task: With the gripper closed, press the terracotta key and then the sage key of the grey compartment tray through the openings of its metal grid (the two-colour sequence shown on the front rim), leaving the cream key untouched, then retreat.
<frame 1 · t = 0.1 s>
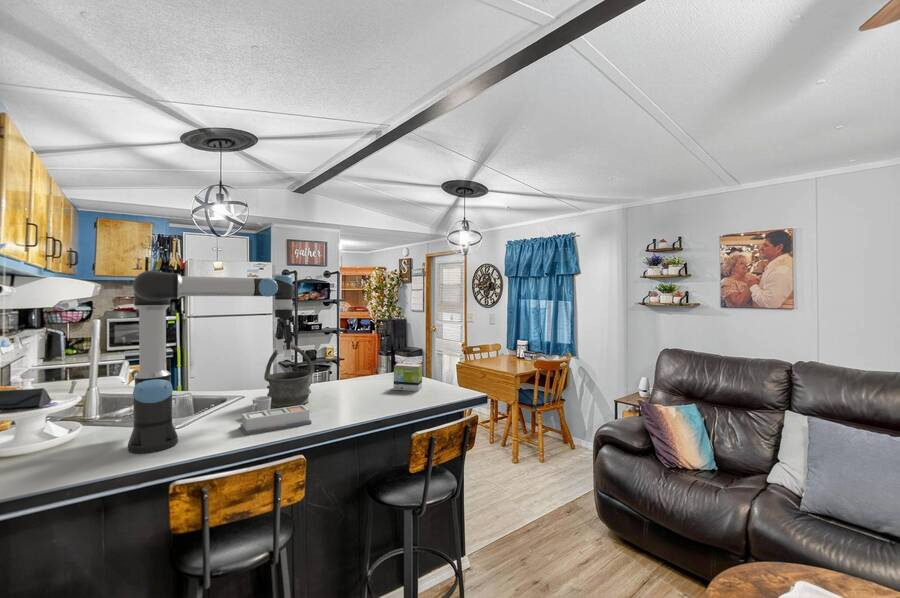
hand: (283, 355, 195), 28 cm above the countertop, fingers open, 13 cm apart
dark handled basket: (289, 403, 217), on the countertop
key sage: (276, 414, 181), point 5 cm above the countertop, slide at 0.0 cm
cup: (260, 416, 194), on the countertop
grey compartment tray: (276, 425, 181), on the countertop
tea box: (408, 389, 250), on the countertop
key terracotta: (295, 411, 186), point 5 cm above the countertop, slide at 0.0 cm
key cream: (256, 417, 176), point 5 cm above the countertop, slide at 0.0 cm
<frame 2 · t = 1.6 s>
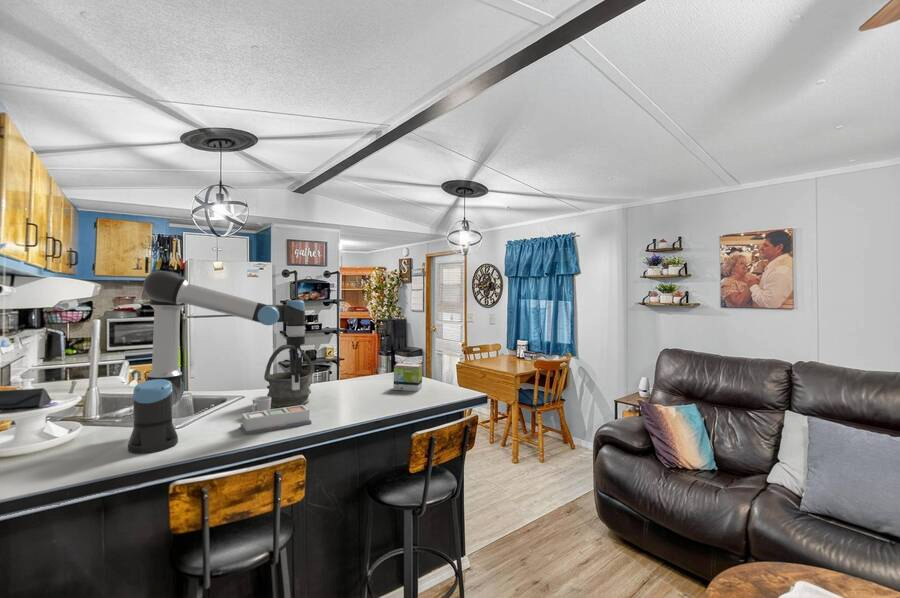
hand: (295, 389, 185), 14 cm above the countertop, fingers closed
nothing on the countertop moved.
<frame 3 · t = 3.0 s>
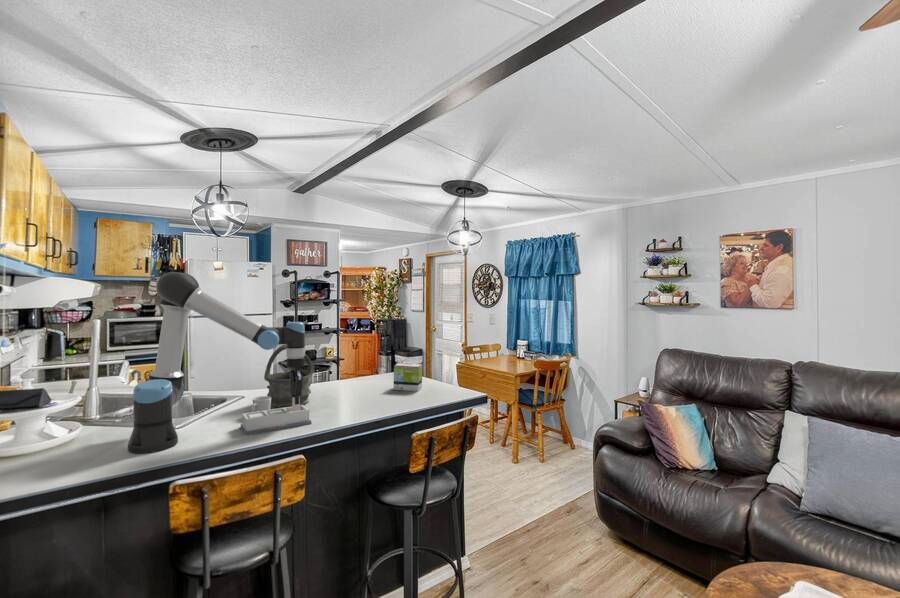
hand: (296, 411, 186), 5 cm above the countertop, fingers closed
key terracotta: (295, 414, 186), point 4 cm above the countertop, slide at 1.0 cm, touching gripper
everything else where it was.
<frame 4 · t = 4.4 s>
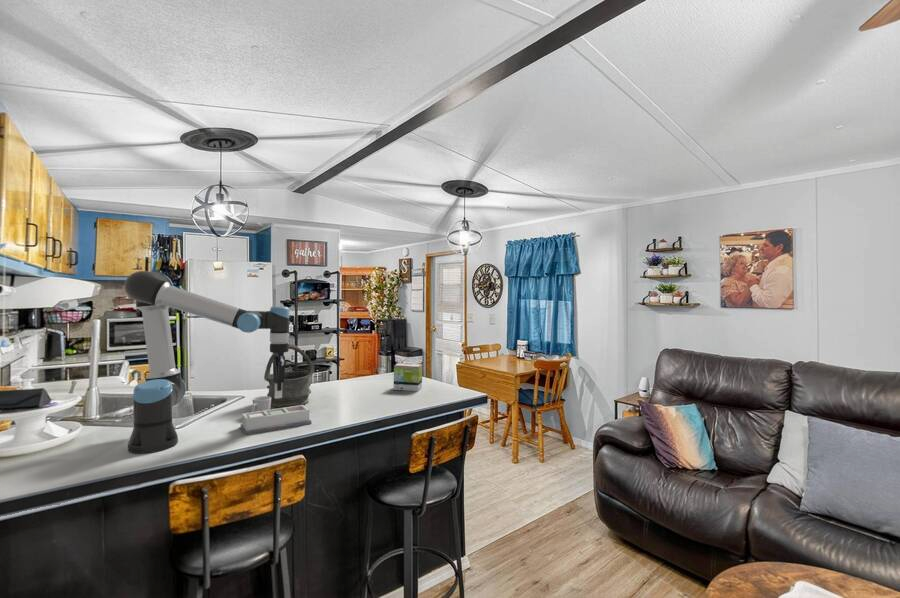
hand: (278, 397, 182), 12 cm above the countertop, fingers closed
key terracotta: (295, 414, 186), point 3 cm above the countertop, slide at 1.1 cm
everything else where it was.
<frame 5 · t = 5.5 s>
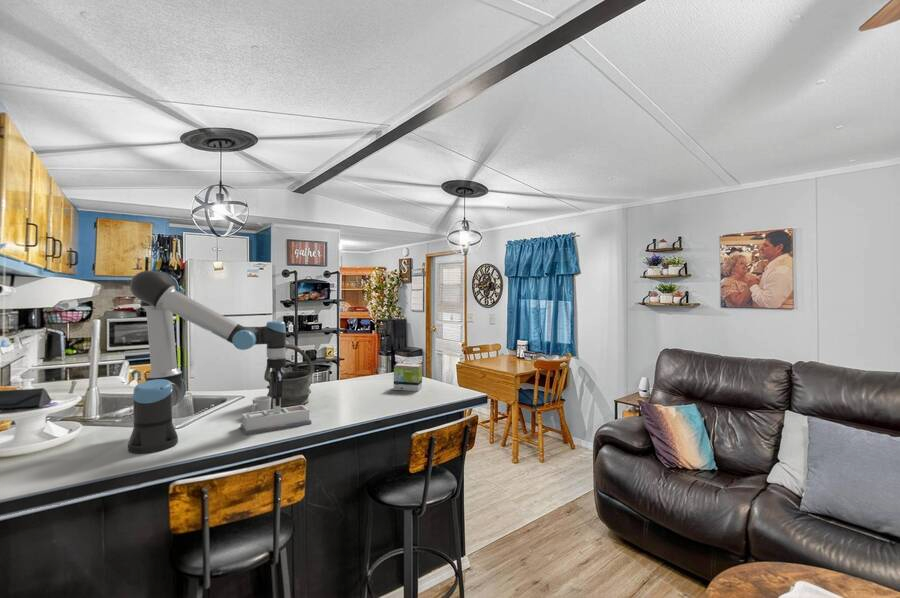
hand: (276, 412, 181), 5 cm above the countertop, fingers closed
key sage: (276, 415, 181), point 4 cm above the countertop, slide at 0.5 cm, touching gripper
everything else where it was.
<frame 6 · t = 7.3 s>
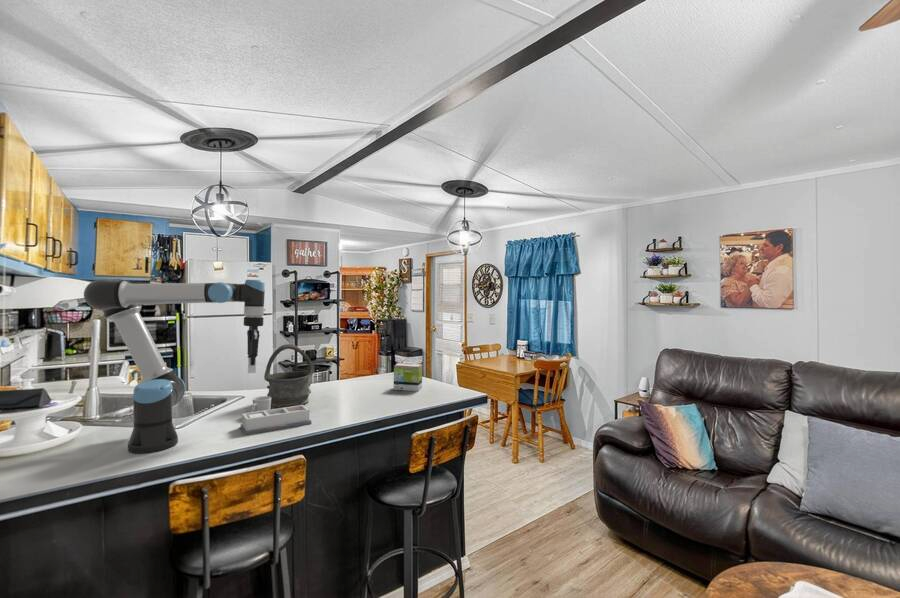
hand: (251, 372, 178), 23 cm above the countertop, fingers closed
key sage: (276, 417, 181), point 3 cm above the countertop, slide at 1.2 cm
everything else where it was.
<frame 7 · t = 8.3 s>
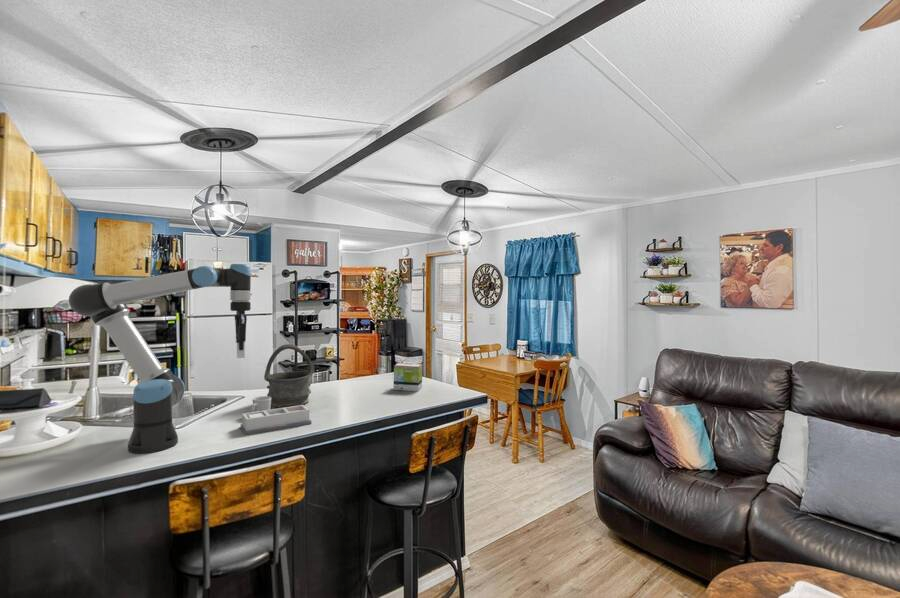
hand: (240, 357, 177), 29 cm above the countertop, fingers closed
nothing on the countertop moved.
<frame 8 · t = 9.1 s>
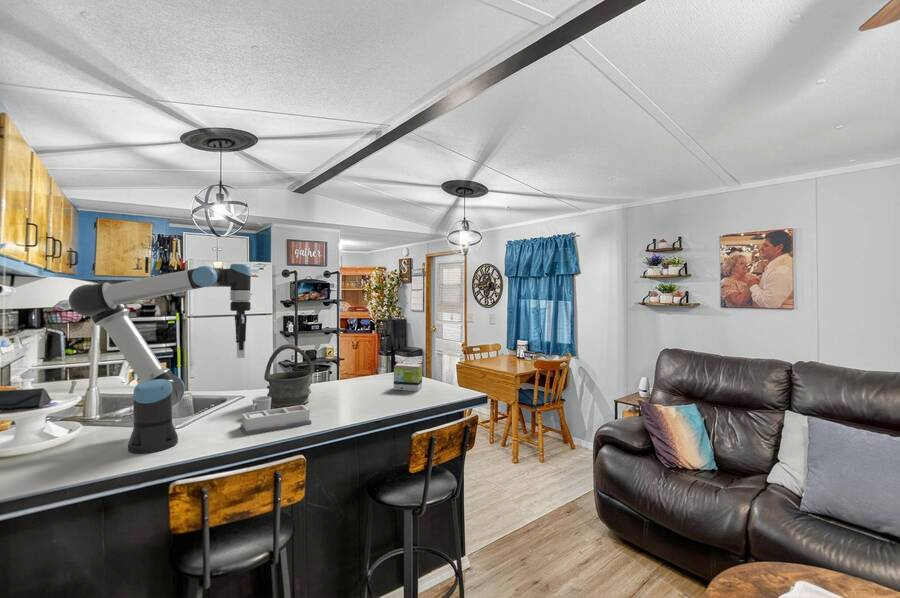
hand: (240, 357, 177), 29 cm above the countertop, fingers closed
nothing on the countertop moved.
at the end: key terracotta slide at 1.1 cm; key sage slide at 1.2 cm; key cream slide at 0.0 cm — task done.
